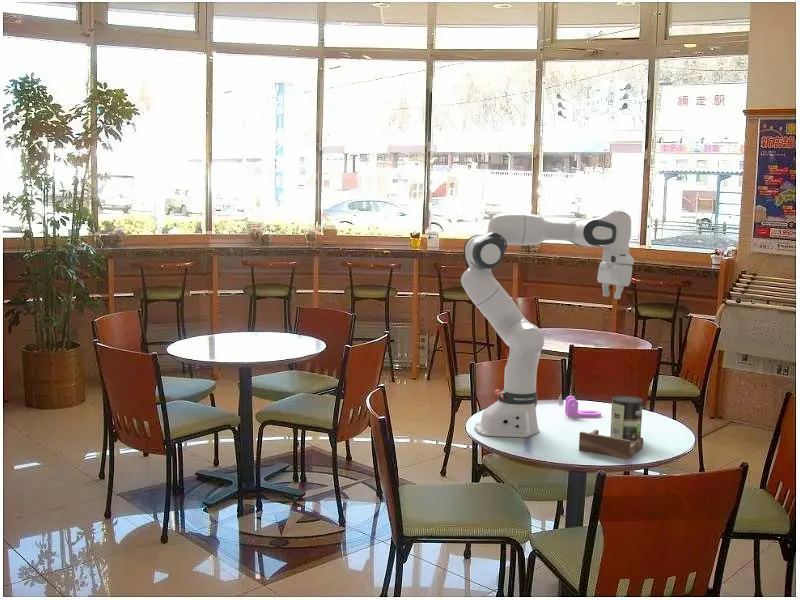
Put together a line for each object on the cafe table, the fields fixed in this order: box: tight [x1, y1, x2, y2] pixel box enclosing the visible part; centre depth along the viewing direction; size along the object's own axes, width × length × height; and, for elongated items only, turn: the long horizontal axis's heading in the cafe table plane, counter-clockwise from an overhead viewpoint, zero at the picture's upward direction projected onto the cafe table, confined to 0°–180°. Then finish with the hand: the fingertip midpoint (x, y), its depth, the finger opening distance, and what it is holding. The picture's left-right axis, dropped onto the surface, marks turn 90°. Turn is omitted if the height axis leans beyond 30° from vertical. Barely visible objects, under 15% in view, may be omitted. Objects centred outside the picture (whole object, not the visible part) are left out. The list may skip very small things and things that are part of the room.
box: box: [578, 429, 644, 461], centre depth 272 cm, size 15×16×6 cm
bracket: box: [564, 395, 602, 418], centre depth 313 cm, size 13×6×7 cm, turn 89°
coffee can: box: [609, 395, 644, 444], centre depth 283 cm, size 10×10×14 cm
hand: (611, 297), depth 290 cm, fingers open, 8 cm apart
